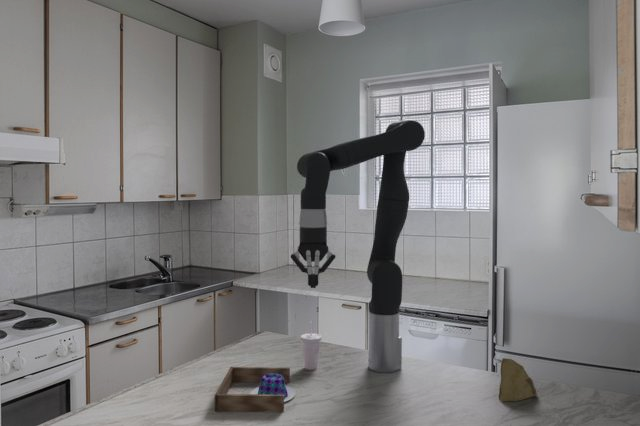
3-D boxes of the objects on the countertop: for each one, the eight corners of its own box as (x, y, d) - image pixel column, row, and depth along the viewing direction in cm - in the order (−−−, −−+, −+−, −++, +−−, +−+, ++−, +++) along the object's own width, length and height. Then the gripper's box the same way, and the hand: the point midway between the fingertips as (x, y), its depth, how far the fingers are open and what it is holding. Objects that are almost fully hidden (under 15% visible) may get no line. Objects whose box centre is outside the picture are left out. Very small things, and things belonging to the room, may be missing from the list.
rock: (535, 381, 129) (497, 372, 132) (543, 363, 124) (502, 354, 127) (536, 418, 122) (495, 408, 125) (544, 402, 116) (501, 391, 119)
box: (289, 381, 134) (289, 367, 134) (283, 412, 116) (283, 396, 116) (230, 380, 135) (230, 366, 135) (214, 411, 116) (214, 395, 116)
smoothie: (322, 364, 148) (322, 319, 147) (320, 371, 141) (320, 325, 141) (302, 363, 148) (302, 318, 148) (299, 371, 142) (299, 324, 141)
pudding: (300, 389, 130) (300, 370, 130) (287, 409, 118) (287, 388, 118) (259, 384, 133) (259, 366, 132) (242, 403, 121) (242, 383, 121)
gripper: (336, 224, 135) (336, 284, 136) (290, 224, 135) (290, 284, 136) (337, 226, 128) (337, 290, 128) (288, 226, 128) (288, 290, 129)
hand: (313, 287), depth 132 cm, fingers closed
